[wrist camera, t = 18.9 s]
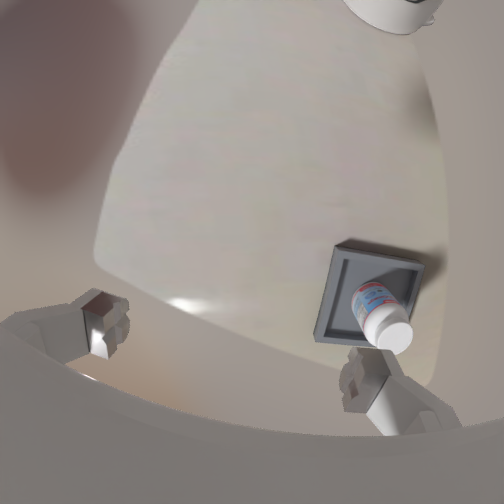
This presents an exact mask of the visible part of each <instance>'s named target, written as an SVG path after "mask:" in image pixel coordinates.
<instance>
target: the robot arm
mask: <svg viewBox="0 0 504 504" xmlns="http://www.w3.org/2000/svg"><path fill="white" fill-rule="evenodd" d="M343 1H344V2H345V3H346V4H347V5H348V7H349V8H350V9H351V10H352V11H353V12H354V13H355V14H356V15H357V16H359V17H360V18H361V19H363V20H364V21H366V22H367V23H369V24H370V25H372V26H374V27H376V28H378V29H381V30H383V31H386V32H390V33H394V34H410V33H413V32H415V31H417V30H418V29H419V28H420V27H421V26H427V25H432V24H433V22H434V17H433V13H434V12H435V11H436V10H437V9H438V7H439V6H440V5H441V4H442V2H443V0H343ZM128 310H129V302H128V300H127V299H126V298H123V297H120V296H117V295H114V294H111V293H108V292H104V291H102V290H99V289H96V288H92V289H90V290H89V291H87V292H86V293H85V294H83V295H82V296H80V297H79V298H77V299H76V300H75V301H73V302H72V303H71V304H67V303H65V304H59V305H54V306H48V307H43V308H37V309H32V310H26V311H20V312H15V313H14V314H12V315H11V316H9V317H8V318H6V319H5V320H4V321H2V322H1V323H0V504H504V418H500V419H496V420H492V421H488V422H485V423H480V424H475V425H471V426H466V427H462V425H461V423H460V421H459V419H458V417H457V416H456V413H455V411H454V410H453V408H452V407H451V406H449V405H448V404H446V403H445V402H444V401H442V400H440V399H439V398H438V397H437V396H435V395H434V394H432V393H431V392H429V391H428V390H427V389H425V388H424V387H423V386H421V385H420V384H418V383H417V382H416V381H414V380H413V379H411V378H410V377H409V376H405V375H404V373H403V371H402V369H401V367H400V365H399V363H398V361H397V359H396V357H395V355H394V353H393V352H392V351H391V350H387V349H371V348H360V347H353V348H352V349H351V350H350V352H349V355H348V358H349V362H348V363H347V364H345V365H344V366H343V368H342V371H341V374H340V379H339V387H340V390H341V391H342V392H343V393H344V396H343V398H342V401H343V407H344V411H345V412H353V413H366V415H367V416H368V417H369V418H370V420H371V421H372V422H373V423H374V424H375V425H376V427H377V428H378V429H379V430H380V431H381V432H382V434H383V435H384V436H365V437H363V436H362V437H358V436H357V437H355V436H352V437H351V436H325V435H311V434H299V433H291V432H282V431H274V430H267V429H261V428H255V427H250V426H244V425H239V424H233V423H229V422H224V421H219V420H215V419H210V418H207V417H202V416H199V415H195V414H191V413H187V412H184V411H180V410H176V409H173V408H170V407H166V406H164V405H161V404H158V403H154V402H151V401H148V400H145V399H143V398H140V397H137V396H135V395H132V394H129V393H127V392H124V391H122V390H119V389H116V388H114V387H112V386H109V385H107V384H105V383H102V382H100V381H98V380H95V379H93V378H91V377H89V376H87V375H84V374H82V373H80V372H78V371H76V370H74V369H72V368H70V367H68V366H66V365H64V364H65V363H68V362H70V361H73V360H75V359H77V358H80V357H82V356H84V355H87V354H89V352H90V353H93V354H95V355H98V356H100V357H103V358H105V359H109V358H110V357H111V356H112V355H113V354H114V353H115V351H116V350H117V344H121V343H123V342H124V341H125V339H126V338H127V335H128V333H129V328H130V320H129V318H128V316H127V315H126V313H127V312H128Z"/></svg>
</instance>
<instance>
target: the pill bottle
mask: <svg viewBox="0 0 504 504" xmlns="http://www.w3.org/2000/svg"><path fill="white" fill-rule="evenodd" d="M351 306H352V311H353V313H354V315H355V317H356V319H357V321H358V323H359V325H360V327H361V329H362V331H363V333H364V335H365V337H366V339H367V340H368V341H369V343H371V344H372V345H374V346H376V347H377V348H378V349H387V350H391V351H392V352H393V353H394V355H397V354H399V353H401V352H403V351H404V350H405V349H406V348H407V347H408V346H409V344H410V343H411V341H412V338H413V329H412V327H411V325H410V324H409V318H408V314H407V312H406V310H405V309H404V308H403V307H402V305H401V304H400V303H399V302H398V301H397V300H396V298H395V297H394V296H393V295H392V294H391V293H390V292H389V291H388V289H387V288H386V287H385V286H384V285H382V284H380V283H378V282H369V283H366V284H363V285H362V286H360V287H359V288H358V289H357V290H356V291H355V293H354V295H353V298H352V304H351Z"/></svg>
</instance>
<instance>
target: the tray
mask: <svg viewBox="0 0 504 504" xmlns="http://www.w3.org/2000/svg"><path fill="white" fill-rule="evenodd" d="M424 269H425V265H424V264H423V263H421V262H420V261H418V260H412V259H407V258H402V257H396V256H391V255H385V254H379V253H374V252H368V251H362V250H357V249H351V248H345V247H339V246H334V251H333V255H332V260H331V264H330V269H329V273H328V278H327V282H326V286H325V290H324V294H323V298H322V302H321V306H320V310H319V314H318V318H317V322H316V325H315V329H314V333H313V334H314V339H315V342H320V343H330V344H341V345H353V346H366V347H376V346H374V345H372V344H371V343H369V341H368V340H367V339H366V337H365V335H364V333H363V331H362V329H361V327H360V325H359V323H358V321H357V319H356V317H355V315H354V313H353V311H352V306H351V304H352V298H353V295H354V293H355V291H356V290H357V289H358V288H359V287H360V286H362V285H363V284H366V283H369V282H378V283H380V284H382V285H384V286H385V287H386V288H387V289H388V291H389V292H390V293H391V294H392V295H393V296H394V297H395V298H396V300H397V301H398V302H399V303H400V304H401V305H402V307H403V308H404V309H405V310H406V312H407V314H408V318H409V316H410V313H411V310H412V307H413V304H414V301H415V298H416V295H417V292H418V289H419V286H420V283H421V279H422V276H423V272H424Z"/></svg>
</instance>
